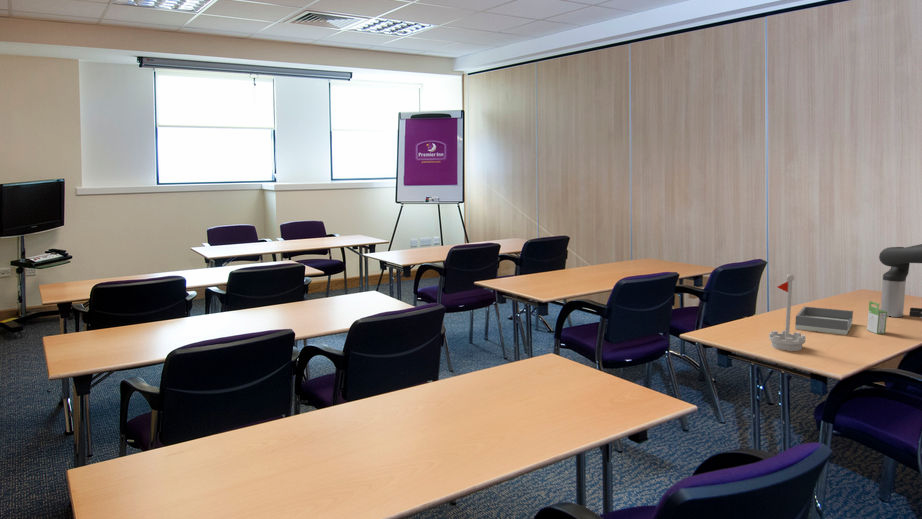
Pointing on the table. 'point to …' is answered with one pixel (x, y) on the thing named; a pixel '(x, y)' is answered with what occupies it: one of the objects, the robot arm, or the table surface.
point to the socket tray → (824, 320)
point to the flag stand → (787, 325)
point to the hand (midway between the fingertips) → (909, 311)
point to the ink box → (876, 319)
